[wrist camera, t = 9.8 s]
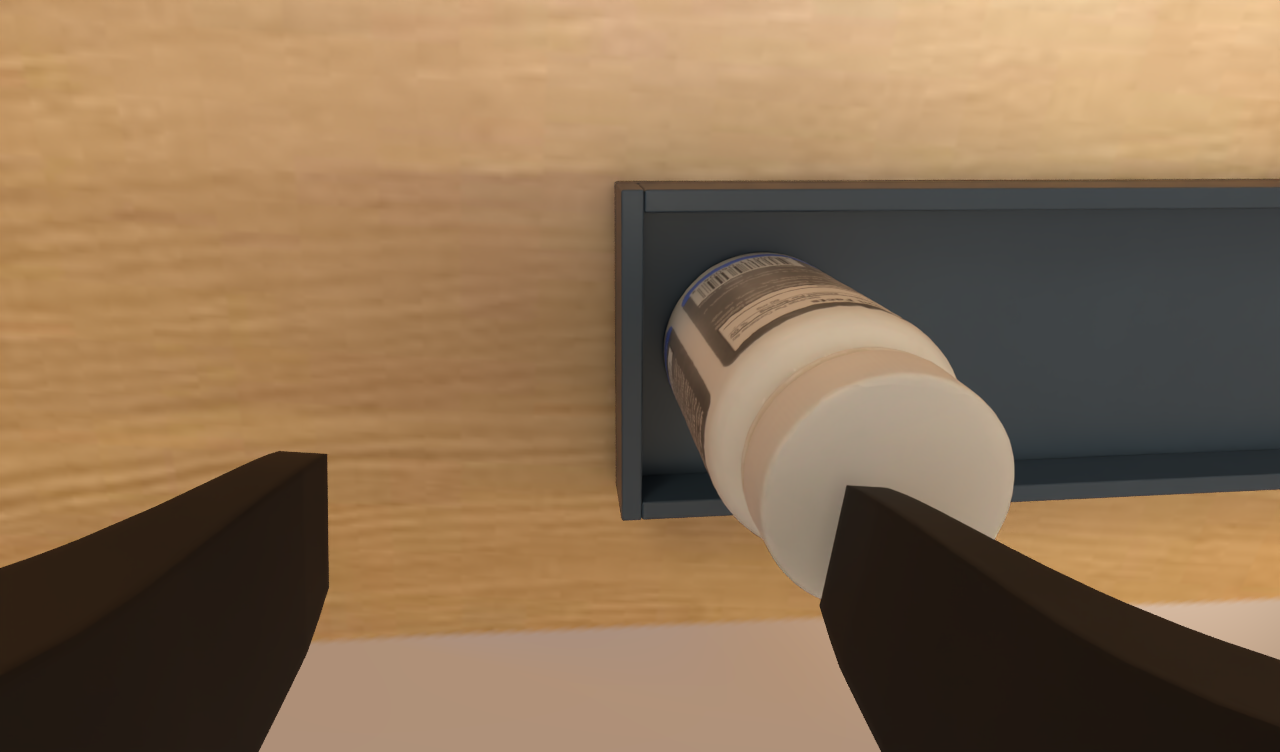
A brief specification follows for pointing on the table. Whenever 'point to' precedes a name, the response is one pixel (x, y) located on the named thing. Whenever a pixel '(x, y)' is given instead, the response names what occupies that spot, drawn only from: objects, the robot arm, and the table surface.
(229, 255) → the table surface
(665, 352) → the pill bottle
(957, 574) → the robot arm
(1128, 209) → the tray
